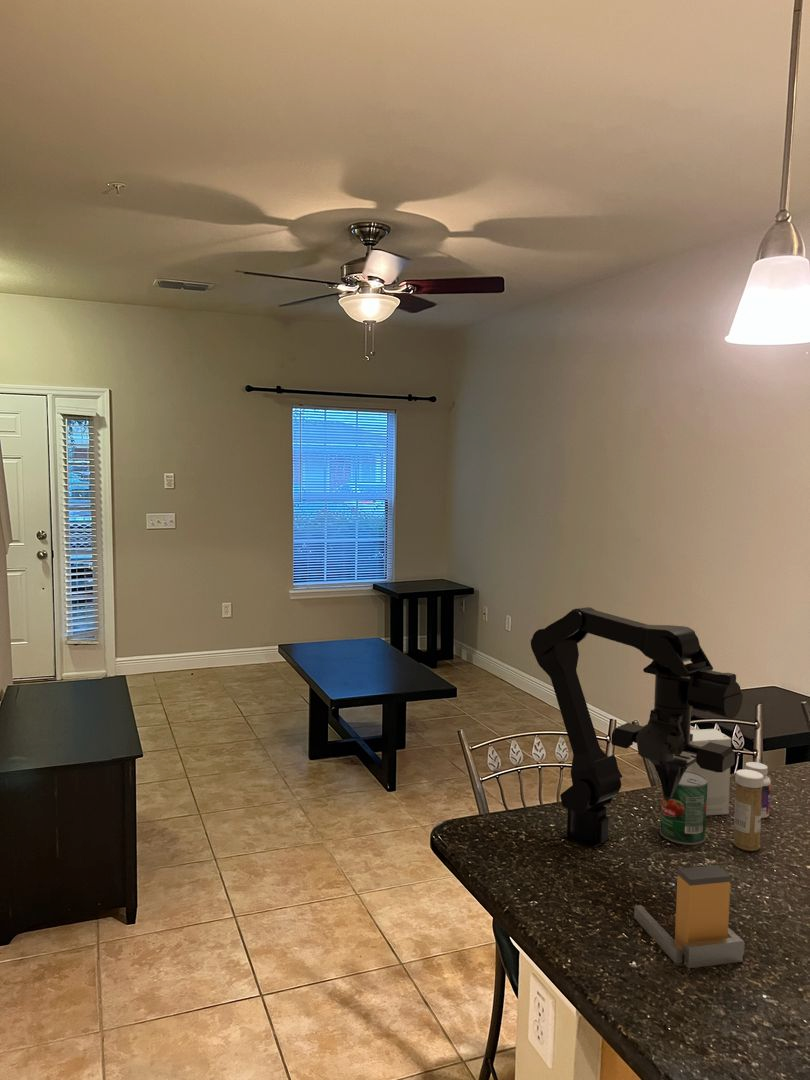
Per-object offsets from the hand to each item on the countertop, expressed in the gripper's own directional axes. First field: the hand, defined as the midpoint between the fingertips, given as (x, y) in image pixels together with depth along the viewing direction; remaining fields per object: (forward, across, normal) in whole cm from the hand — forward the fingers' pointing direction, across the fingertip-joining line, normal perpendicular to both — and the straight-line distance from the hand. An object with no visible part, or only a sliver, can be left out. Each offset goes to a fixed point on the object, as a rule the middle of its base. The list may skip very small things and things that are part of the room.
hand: (668, 797), depth 126 cm
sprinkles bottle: (+13, +6, +20) cm, 25 cm away
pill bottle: (+13, +2, +36) cm, 38 cm away
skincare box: (+13, -6, +30) cm, 33 cm away
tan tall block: (+12, +13, -18) cm, 26 cm away
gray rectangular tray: (+13, +9, -16) cm, 23 cm away
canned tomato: (+13, -4, +16) cm, 21 cm away
